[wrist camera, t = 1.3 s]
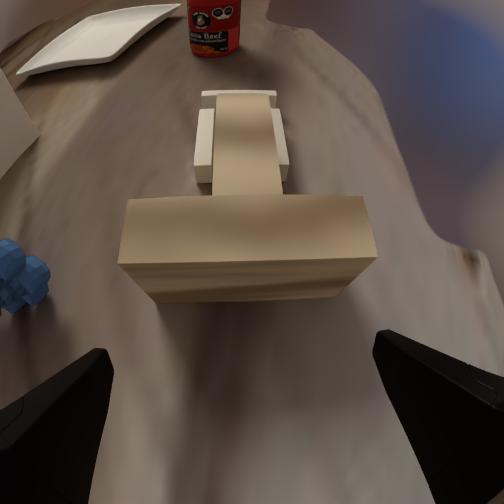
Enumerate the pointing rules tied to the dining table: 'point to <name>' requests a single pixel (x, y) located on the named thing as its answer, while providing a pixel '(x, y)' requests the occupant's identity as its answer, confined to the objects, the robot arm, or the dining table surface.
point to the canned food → (214, 26)
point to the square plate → (97, 38)
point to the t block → (245, 226)
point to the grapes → (20, 277)
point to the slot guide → (207, 133)
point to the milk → (13, 127)
